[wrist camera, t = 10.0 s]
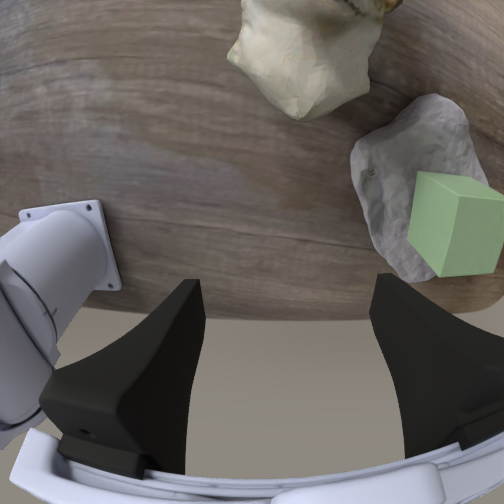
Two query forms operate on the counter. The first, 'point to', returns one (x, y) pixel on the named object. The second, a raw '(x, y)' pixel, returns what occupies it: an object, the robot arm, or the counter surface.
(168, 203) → the counter surface
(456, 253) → the sage block
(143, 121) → the counter surface
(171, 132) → the counter surface
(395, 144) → the stone block
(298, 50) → the ceramic sculpture
